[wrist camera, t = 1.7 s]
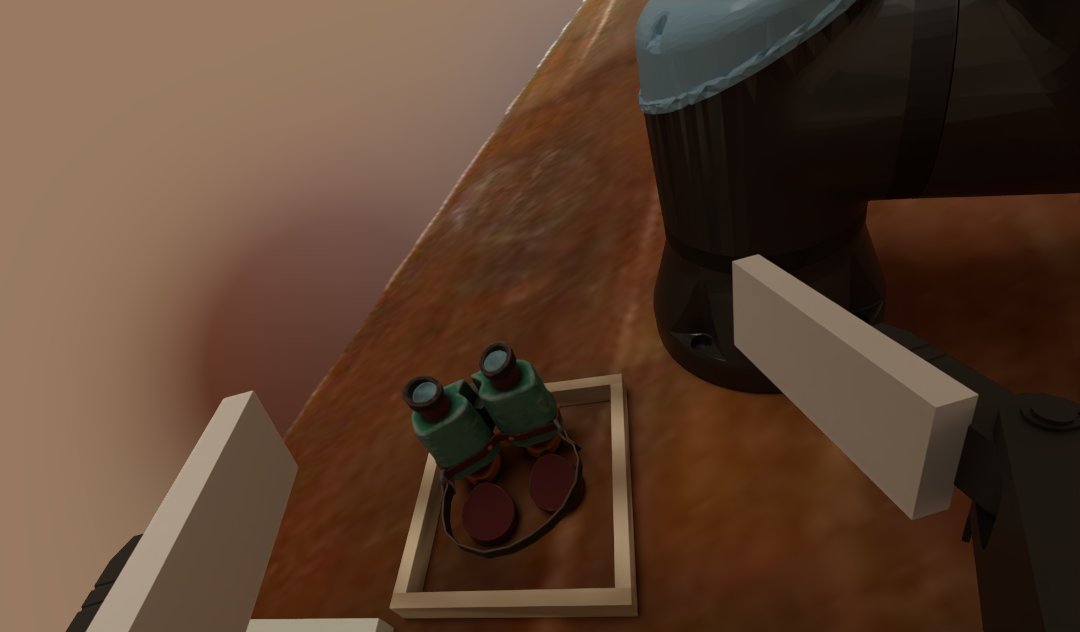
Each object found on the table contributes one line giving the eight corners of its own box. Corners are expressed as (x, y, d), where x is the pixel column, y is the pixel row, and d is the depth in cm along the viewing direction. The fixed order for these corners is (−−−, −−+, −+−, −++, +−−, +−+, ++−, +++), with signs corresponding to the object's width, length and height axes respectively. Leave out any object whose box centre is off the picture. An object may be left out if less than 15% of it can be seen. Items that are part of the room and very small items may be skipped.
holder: (452, 410, 41) (443, 396, 40) (626, 389, 37) (621, 373, 36) (404, 618, 31) (389, 608, 29) (637, 616, 27) (631, 604, 26)
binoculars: (399, 536, 23) (377, 371, 30) (481, 594, 31) (449, 452, 38) (582, 453, 24) (519, 308, 30) (619, 531, 31) (562, 401, 38)
